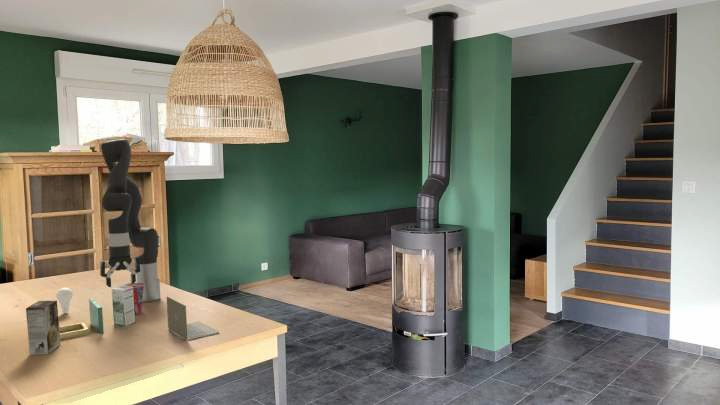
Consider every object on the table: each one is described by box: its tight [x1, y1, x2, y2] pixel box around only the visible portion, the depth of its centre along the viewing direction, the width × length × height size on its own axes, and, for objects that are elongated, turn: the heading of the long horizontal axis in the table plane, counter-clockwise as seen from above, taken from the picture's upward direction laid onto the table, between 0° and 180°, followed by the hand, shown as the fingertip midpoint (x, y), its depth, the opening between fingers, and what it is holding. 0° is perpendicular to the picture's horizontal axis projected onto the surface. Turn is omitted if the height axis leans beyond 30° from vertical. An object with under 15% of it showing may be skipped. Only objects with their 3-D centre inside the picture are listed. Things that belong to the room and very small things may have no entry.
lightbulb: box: [55, 287, 74, 314], centre depth 231 cm, size 6×6×11 cm
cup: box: [122, 282, 144, 315], centre depth 229 cm, size 9×8×12 cm
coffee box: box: [25, 300, 61, 356], centre depth 186 cm, size 9×6×16 cm
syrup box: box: [111, 285, 136, 327], centre depth 214 cm, size 6×6×14 cm
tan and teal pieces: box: [59, 298, 104, 341], centre depth 205 cm, size 15×16×10 cm
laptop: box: [166, 296, 220, 342], centre depth 203 cm, size 18×12×13 cm
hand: (121, 285), depth 214 cm, fingers open, 8 cm apart
